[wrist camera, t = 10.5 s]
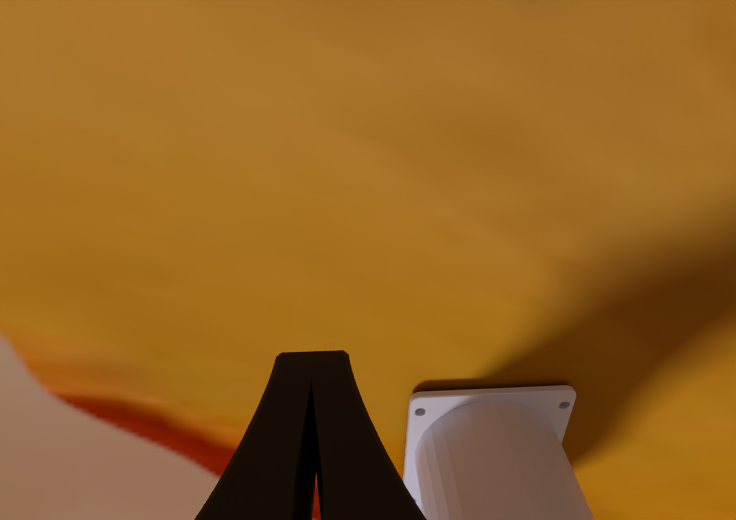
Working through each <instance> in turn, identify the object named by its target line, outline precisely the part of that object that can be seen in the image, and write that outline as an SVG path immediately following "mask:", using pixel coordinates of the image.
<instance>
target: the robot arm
mask: <svg viewBox="0 0 736 520" xmlns="http://www.w3.org/2000/svg"><path fill="white" fill-rule="evenodd" d="M575 399H576V392H575V391H574V389H573V387H571V386H568V385H559V386H537V387H514V388H491V389H469V390H446V391H423V392H416V393H414V394H413V395H412V396H411V397H410V399H409V410H408V423H407V435H406V447H405V460H404V472H403V481H402V479H401V477H400V476H399V474H398V472H397V470H396V468H395V467H394V465H393V463H392V461H391V459H390V458H389V456H388V454H387V452H386V450H385V448H384V446H383V444H382V442H381V440H380V438H379V436H378V434H377V432H376V430H375V428H374V425H373V423H372V421H371V419H370V417H369V415H368V412H367V410H366V408H365V405H364V403H363V401H362V398H361V395H360V393H359V390H358V387H357V385H356V382H355V379H354V375H353V372H352V368H351V364H350V360H349V354H347V353H346V352H345V351H343V350H339V351H313V352H287V353H281V354H279V355H278V356H277V357H276V359H275V363H274V367H273V370H272V373H271V376H270V379H269V381H268V384H267V386H266V389H265V391H264V394H263V396H262V398H261V401H260V403H259V405H258V408H257V410H256V412H255V414H254V416H253V418H252V420H251V422H250V424H249V426H248V428H247V430H246V432H245V434H244V437H243V439H242V440H241V442H240V444H239V446H238V448H237V450H236V452H235V453H234V455H233V457H232V459H231V460H230V462H229V464H228V466H227V467H226V469H225V471H224V473H223V475H222V476H221V478H220V480H219V482H218V483H217V485H216V487H215V488H214V490H213V492H212V493H211V495H210V496H209V498H208V500H207V501H206V503H205V504H204V506H203V508H202V509H201V511H200V512H199V513H198V515H197V516H196V518H195V520H312V513H313V502H314V491H315V480H316V474H317V484H318V495H319V505H320V516H321V520H595V519H594V517H593V515H592V513H591V510H590V508H589V506H588V503H587V501H586V499H585V497H584V494H583V492H582V490H581V488H580V485H579V483H578V481H577V479H576V476H575V474H574V472H573V470H572V467H571V465H570V463H569V461H568V458H567V456H566V454H565V452H564V449H563V447H562V445H561V444H562V441H563V438H564V434H565V431H566V428H567V425H568V422H569V418H570V415H571V412H572V409H573V406H574V402H575ZM562 402H563V403H562ZM419 408H422V409H419ZM418 409H419V410H418Z"/></svg>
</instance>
